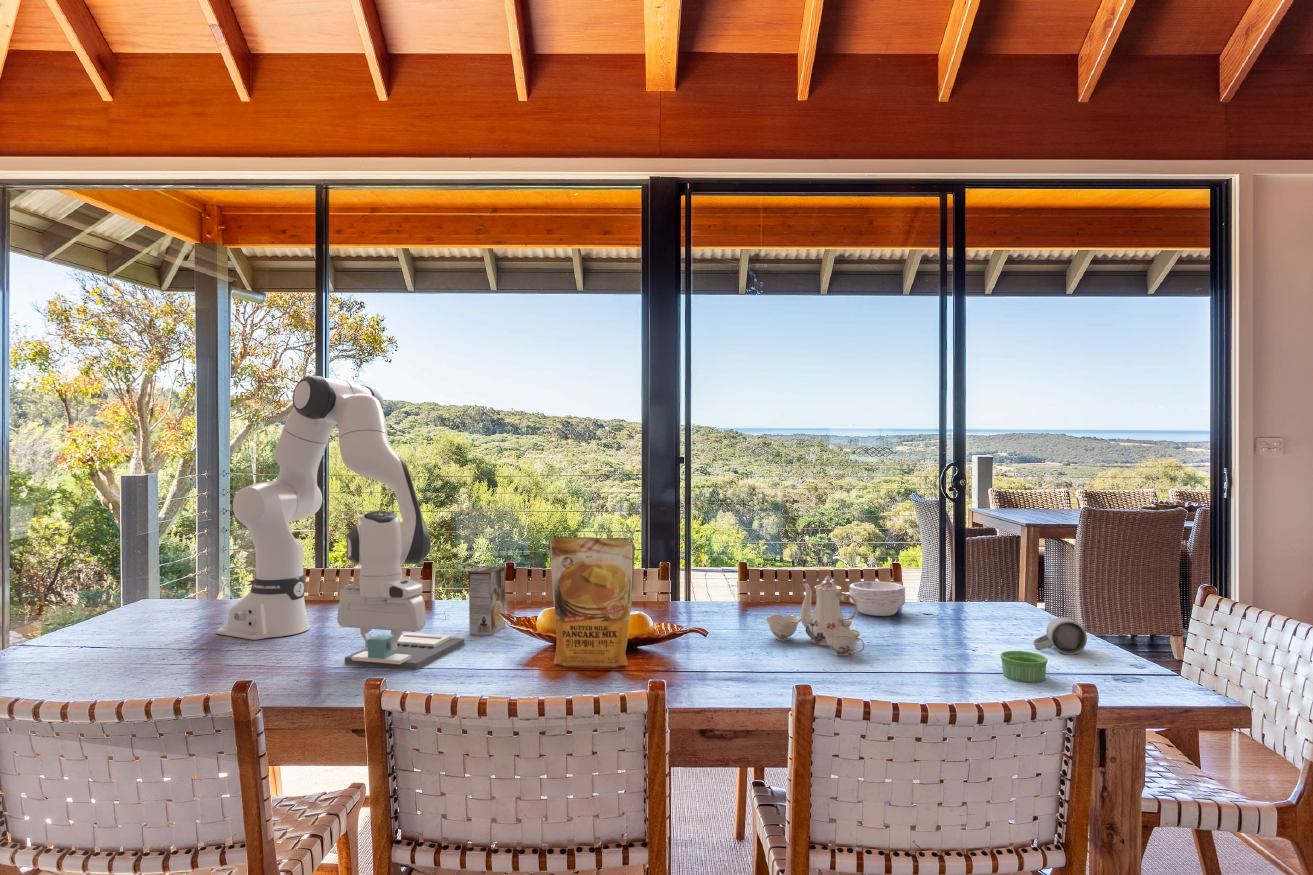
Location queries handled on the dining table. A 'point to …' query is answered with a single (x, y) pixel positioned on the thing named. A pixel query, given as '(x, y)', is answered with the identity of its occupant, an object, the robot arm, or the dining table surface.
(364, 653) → the stub
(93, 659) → the dining table surface
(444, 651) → the board
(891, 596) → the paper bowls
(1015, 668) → the ramekin
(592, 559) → the pancake mix bag
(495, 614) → the coffee box
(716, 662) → the dining table surface
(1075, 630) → the ceramic mug
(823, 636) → the chinaware
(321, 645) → the dining table surface
